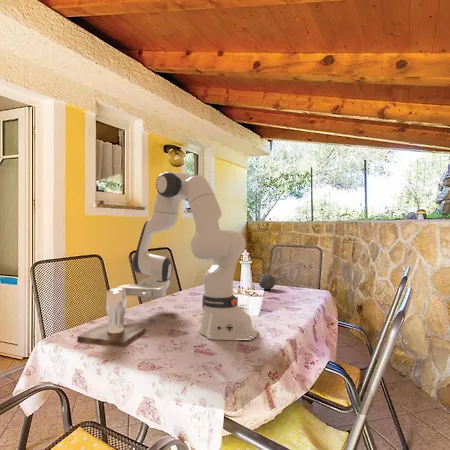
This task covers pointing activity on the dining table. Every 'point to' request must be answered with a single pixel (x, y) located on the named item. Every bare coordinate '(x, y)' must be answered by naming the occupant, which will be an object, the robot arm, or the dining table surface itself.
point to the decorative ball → (266, 281)
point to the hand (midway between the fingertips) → (132, 294)
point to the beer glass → (116, 310)
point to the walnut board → (103, 337)
